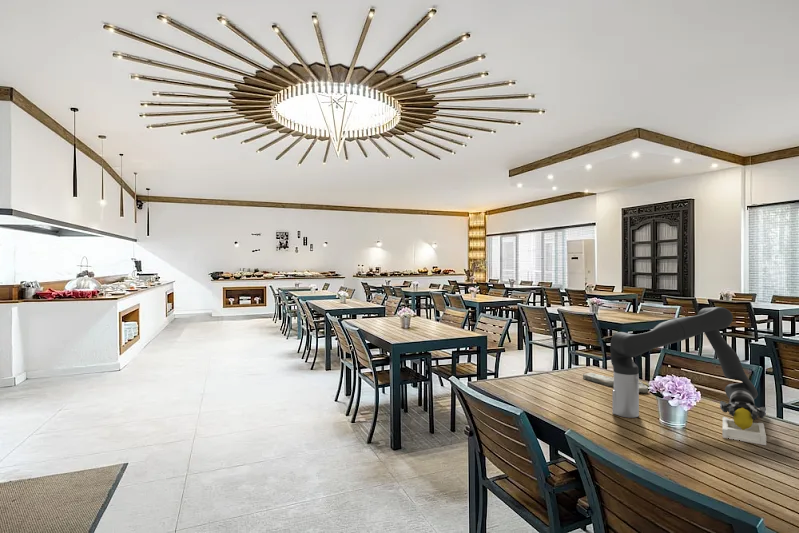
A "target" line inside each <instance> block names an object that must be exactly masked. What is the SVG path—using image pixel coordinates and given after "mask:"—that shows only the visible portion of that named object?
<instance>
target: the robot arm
mask: <svg viewBox="0 0 799 533" xmlns="http://www.w3.org/2000/svg"><path fill="white" fill-rule="evenodd" d="M733 321H734V315H733V313H732V312H731V310H729V309H727V308H726V307H721V306H715V307H714V306H711V307H703V308H701V309H700V310H699V311H698V313H697V315H691V316H681V317H676V318H671V319H669V320H664V321H662V322H660V323H658V324H656V325H655V326H654V327H653V328H652V329H651V330H649V331H647V332H646V331H645V332H643V333H642V332H641V333H637V334H632V333H628V332H626V331H625V332H624V331H617V332H616V333H614V334H613V335H612V337H611V340H610V346H609V348H610V350H609V351H610V361H611V362H610V363H611V366H612V368H613V378H614V387H613V389H612V398H611V399H612V400H611V401H612V414H613V415H616V416H619V417H623V418H629V419H630V418H638V417H639V416H640V394H639V393H640V392H639V381H640V380H639V379H640V378H639V377H640V376H639V371H640V370H639V366H638V365H637V364H636V363H635V361H634V360H633V358H636V357H638V356H640V355H643V354H645V353H647V352H650V351H652V350H654V349H657V348H661V347H665V346H668V345H671V344H675V343H678V342H682V341H684V340H688V339H690V338H694V337H696V336H699V335H701V334H703V333H704V335H705V336H706V339H707V340H708V342H709V344H710V345H711V347H712V349H713V351H714V353H715V355H716V358H717V359H718V362H719V364H720V368H721V370H722V373H723V375H724V377H725V378H727V379H730V380H739V381H741V382H736V383H729V384H726V386H725V387H724V392H725V394H726V396H727V398H728V399H729V402H728V403H727V402H726V401H723V400H720V401H719V408H720V409H721V411H722V412H723V413H728V415H730V416H731V417H733V416H734V412H735V411H736V410H737V409H740V408H744V409H746V410H748V411H749V412H750V413H751V415H752V419H753V421H754V420H755V421H756V420H758V417H759V418H760V419H764V418H765V416H767V408H766V407H765V406H761V407H757V405H756V404H755V399H757V397H758V396H759V394H758V390H757V388H756V386H755V385H754V384H753V383H752V381H751V380H750V379H749V377H748V376H747V374H746V373H745V370H744V367H743V365H742V363H741V360H740V358H739V356H738V354H737V353H736V351H735V350H734V349H733V347H731V346H730V345H729V344H728V342H727V341H726V339H724V337H723V336H722V334H721V331H720V330H724V329H726V328H728V327H730V325H732V322H733Z"/></svg>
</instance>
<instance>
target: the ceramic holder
mask: <svg viewBox="0 0 799 533" xmlns="http://www.w3.org/2000/svg"><path fill="white" fill-rule="evenodd" d="M764 424H765V423H764V422H758V423H757V422H753V423H752V425H751V427H749V428H747V429H745V430H742V429H741V428H740V427H738V426H737V425H736V424H735V422H734V419H732V418H731V419H730V418H728V417H725V416H722V427H721V428H722V429H721V432H722V433H721V434H722V437H723V438H722V439H728V438H729V439H730V440H733V439H734V441H739V440H740V442H745V443H751V444H755V445H756V444H757V445H763V446H767V435H766V430H765V425H764Z"/></svg>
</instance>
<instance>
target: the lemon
mask: <svg viewBox="0 0 799 533" xmlns="http://www.w3.org/2000/svg"><path fill="white" fill-rule="evenodd" d="M732 417H733V419H732V420H734V422H735V424H736V425H737V426H738V427H740V428H741V429H742V430H745V429H747V428H749V427H751V425H752V423H754V422H753V421H754V420H753V419H752V415H751V413H750V412H749V411H748V410H746V409H744V408H740V409H737V410H736V411H735V412H734V416H732Z"/></svg>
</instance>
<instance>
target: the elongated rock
mask: <svg viewBox="0 0 799 533" xmlns="http://www.w3.org/2000/svg"><path fill="white" fill-rule="evenodd" d="M582 379H584V380H588V381H591V382H593V383H596V384H600V385H604V386H608V387H611V388H612V387H613V388H614V376H613V377H612V376H606V375H602V374H600V373H599V374H597V373H595V372H586V373H585V372H584V373H583V375H582ZM648 388H649V386H648V385H647V384H645V383H643V382H642V381H640V380H639V393H643V394H645V393H648V392H649V391H648Z"/></svg>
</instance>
